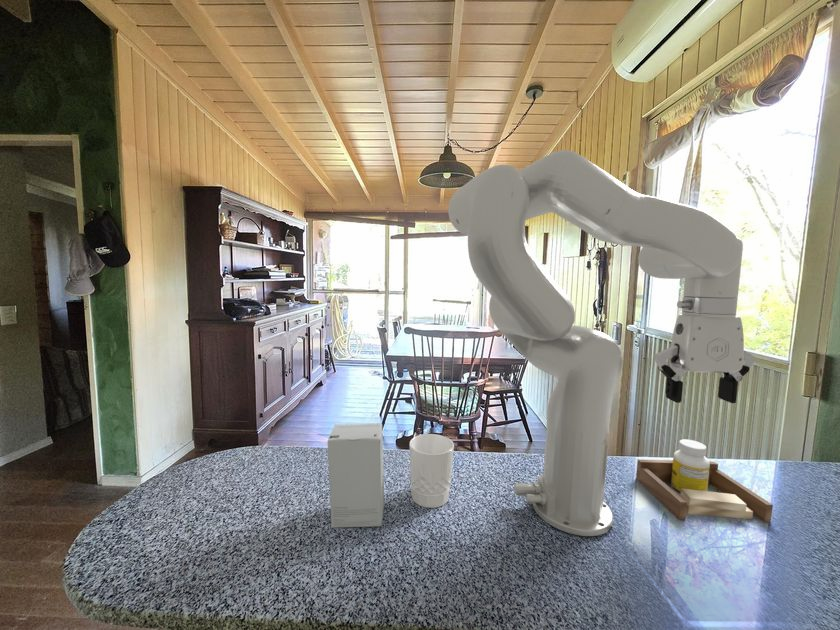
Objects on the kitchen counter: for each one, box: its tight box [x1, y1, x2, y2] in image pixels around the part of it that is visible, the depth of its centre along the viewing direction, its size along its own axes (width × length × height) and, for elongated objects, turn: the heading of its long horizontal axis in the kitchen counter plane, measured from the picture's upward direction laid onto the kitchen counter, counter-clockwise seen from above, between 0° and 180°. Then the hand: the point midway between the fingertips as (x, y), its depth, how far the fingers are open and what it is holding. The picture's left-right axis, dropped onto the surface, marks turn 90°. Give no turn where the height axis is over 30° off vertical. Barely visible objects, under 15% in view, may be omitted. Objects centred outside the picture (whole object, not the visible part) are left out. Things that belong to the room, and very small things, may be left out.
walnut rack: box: [635, 459, 774, 524], centre depth 64 cm, size 15×12×4 cm
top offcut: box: [680, 488, 747, 512], centre depth 61 cm, size 8×3×1 cm, turn 80°
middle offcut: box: [679, 495, 754, 520], centre depth 61 cm, size 10×3×1 cm, turn 84°
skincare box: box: [326, 422, 385, 529], centre depth 57 cm, size 8×6×15 cm
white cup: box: [408, 433, 455, 509], centre depth 64 cm, size 8×8×10 cm
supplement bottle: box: [670, 438, 710, 496], centre depth 66 cm, size 5×5×10 cm
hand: (699, 400), depth 65 cm, fingers open, 9 cm apart
